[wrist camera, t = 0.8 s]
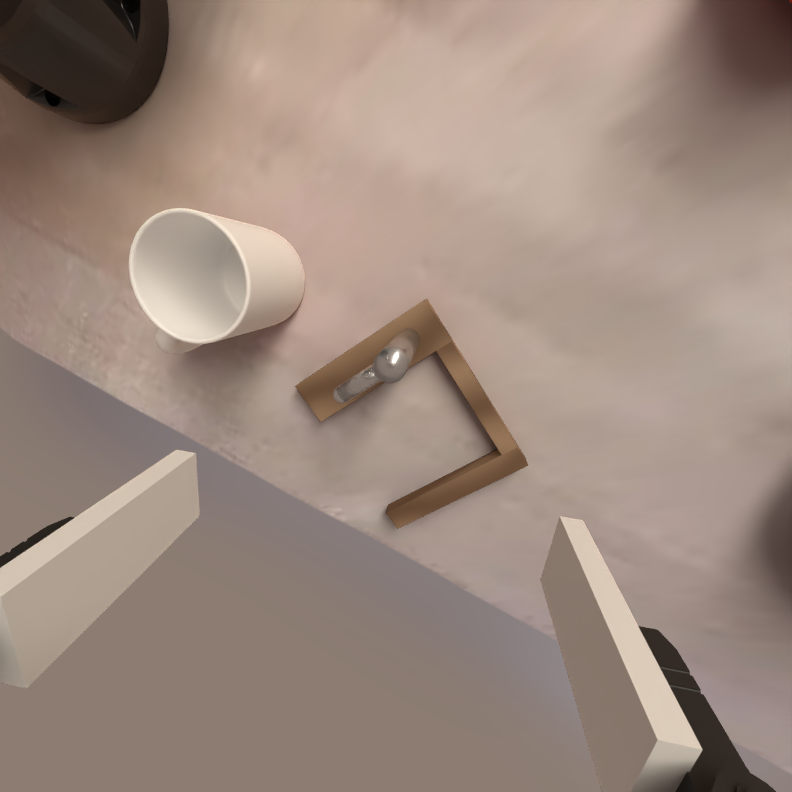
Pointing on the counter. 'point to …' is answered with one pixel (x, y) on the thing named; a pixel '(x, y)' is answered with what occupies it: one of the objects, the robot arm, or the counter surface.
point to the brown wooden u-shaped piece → (437, 339)
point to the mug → (211, 277)
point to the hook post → (382, 366)
